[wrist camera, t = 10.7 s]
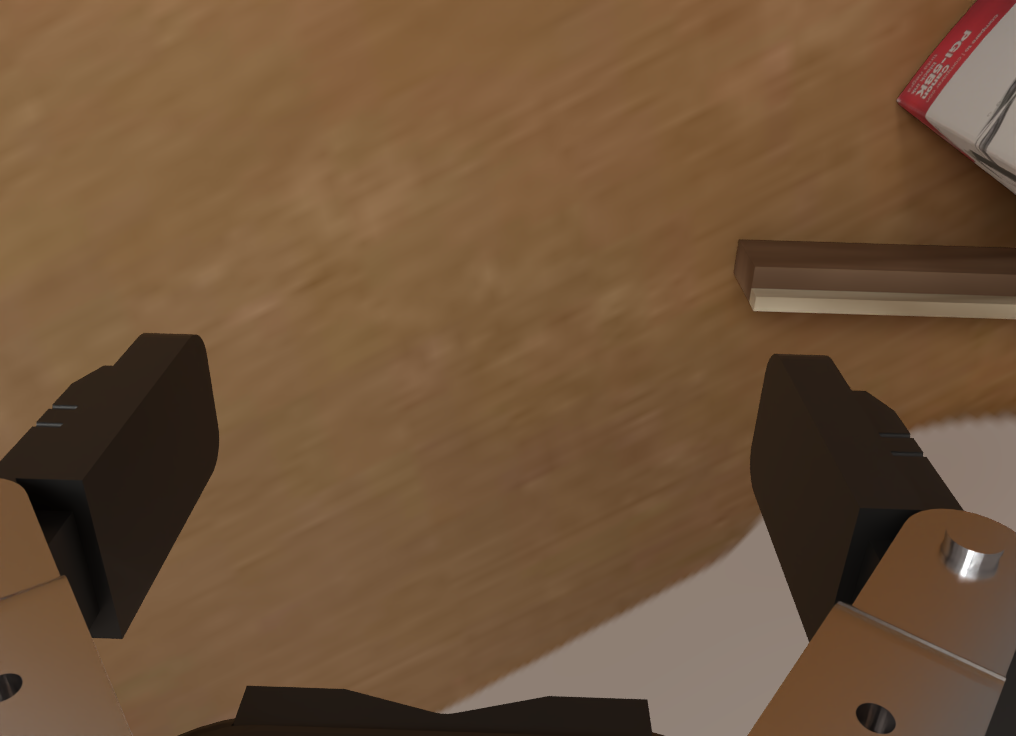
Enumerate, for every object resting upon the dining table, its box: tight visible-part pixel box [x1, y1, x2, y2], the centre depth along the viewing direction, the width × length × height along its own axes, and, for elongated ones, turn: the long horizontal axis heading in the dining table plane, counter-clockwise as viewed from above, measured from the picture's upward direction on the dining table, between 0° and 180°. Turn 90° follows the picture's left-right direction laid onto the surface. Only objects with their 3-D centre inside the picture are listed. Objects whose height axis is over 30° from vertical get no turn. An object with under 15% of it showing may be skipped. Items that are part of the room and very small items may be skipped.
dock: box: [734, 240, 1016, 319], centre depth 32 cm, size 15×16×4 cm
